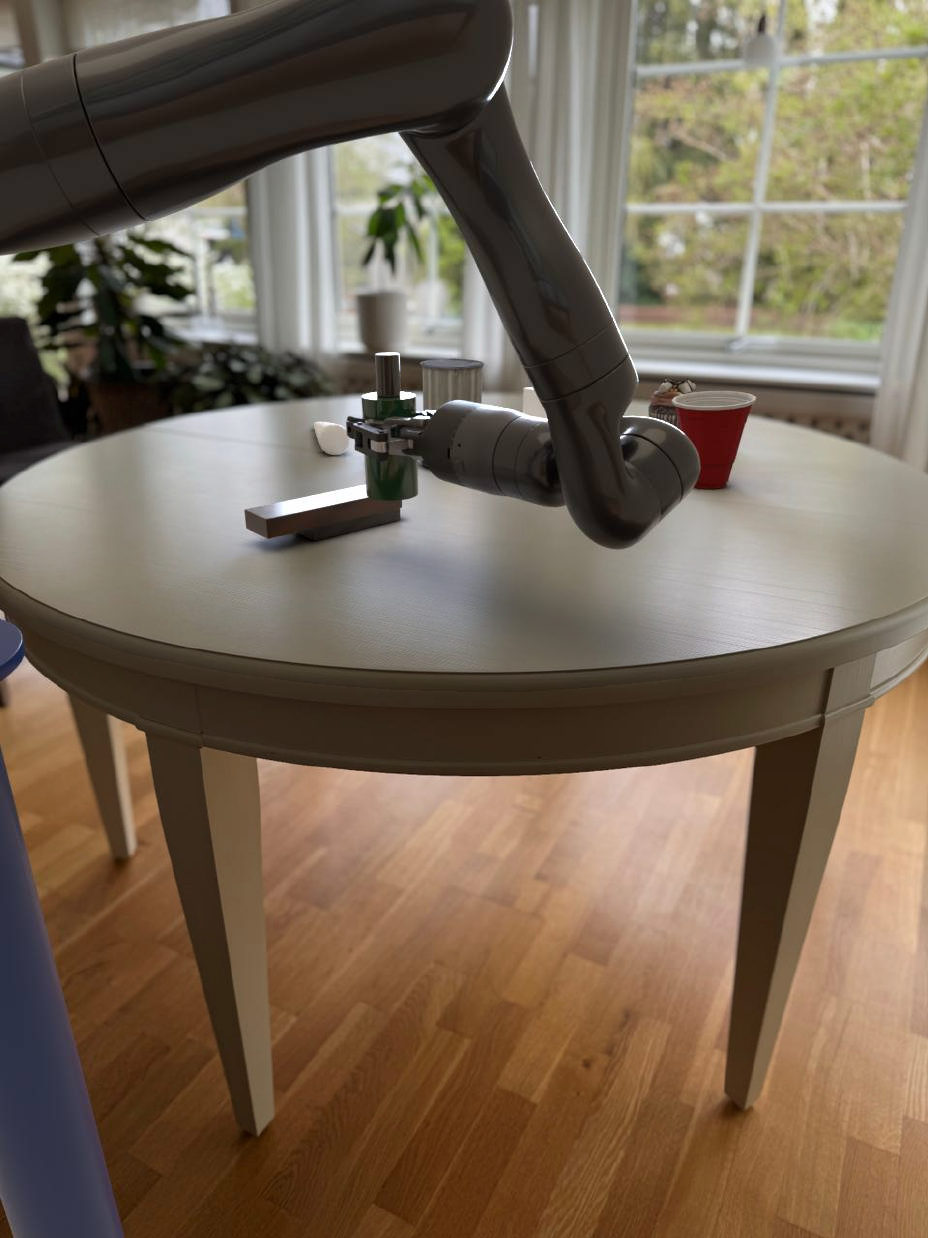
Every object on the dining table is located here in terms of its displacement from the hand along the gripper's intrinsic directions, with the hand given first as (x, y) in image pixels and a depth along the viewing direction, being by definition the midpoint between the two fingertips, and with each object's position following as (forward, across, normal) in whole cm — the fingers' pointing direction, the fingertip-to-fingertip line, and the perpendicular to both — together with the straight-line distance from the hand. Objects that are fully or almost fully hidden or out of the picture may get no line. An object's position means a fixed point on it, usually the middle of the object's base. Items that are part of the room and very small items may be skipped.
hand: (374, 422), depth 88 cm
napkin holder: (+39, -67, +14) cm, 78 cm away
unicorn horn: (+50, -25, +13) cm, 57 cm away
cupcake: (+13, -71, +14) cm, 73 cm away
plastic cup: (-7, -50, +14) cm, 52 cm away
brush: (+9, +1, +14) cm, 16 cm away
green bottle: (-3, 0, +7) cm, 7 cm away
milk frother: (+27, -28, +14) cm, 41 cm away
